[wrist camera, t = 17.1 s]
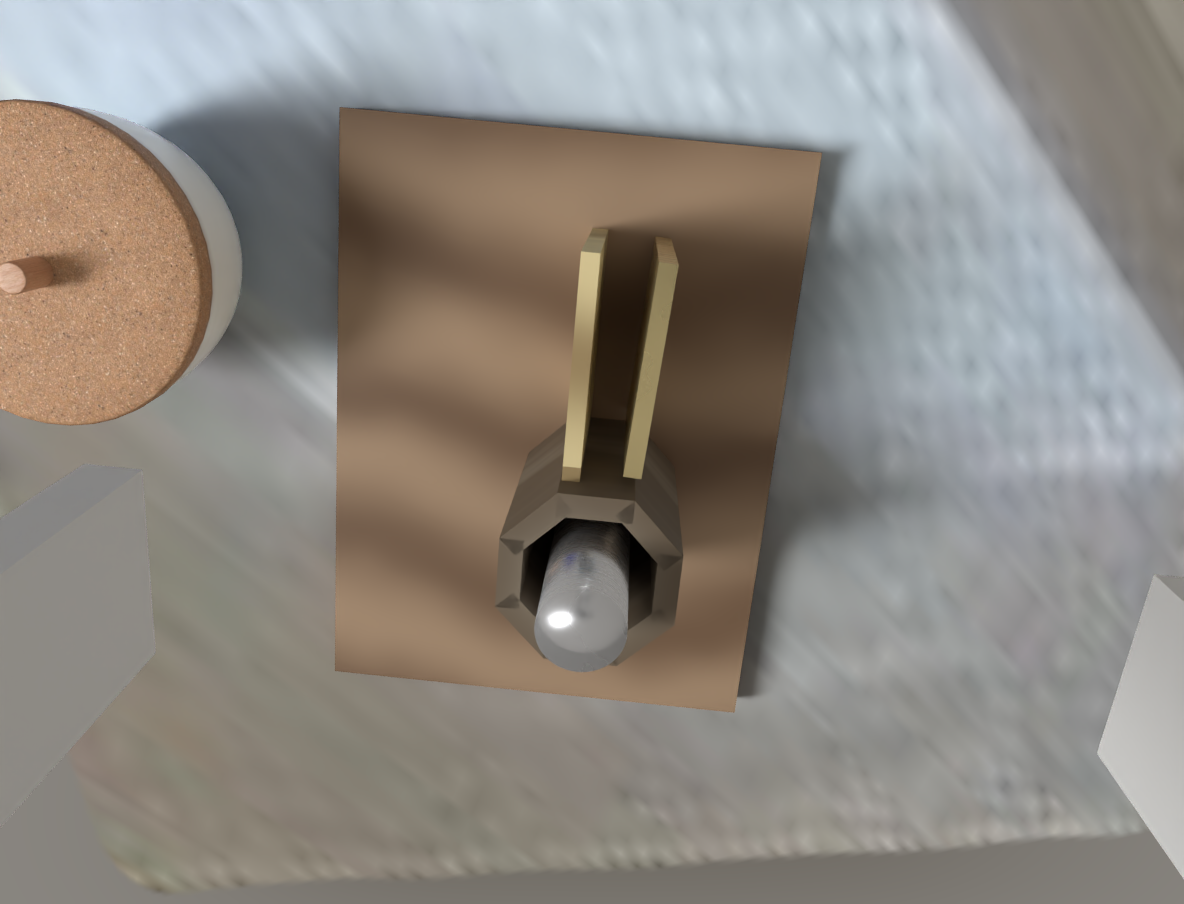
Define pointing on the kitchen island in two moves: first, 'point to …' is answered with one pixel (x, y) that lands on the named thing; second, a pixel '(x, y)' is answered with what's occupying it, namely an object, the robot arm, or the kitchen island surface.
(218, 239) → the lidded jar
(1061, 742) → the kitchen island surface
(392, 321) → the jig
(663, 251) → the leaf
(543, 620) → the pin
